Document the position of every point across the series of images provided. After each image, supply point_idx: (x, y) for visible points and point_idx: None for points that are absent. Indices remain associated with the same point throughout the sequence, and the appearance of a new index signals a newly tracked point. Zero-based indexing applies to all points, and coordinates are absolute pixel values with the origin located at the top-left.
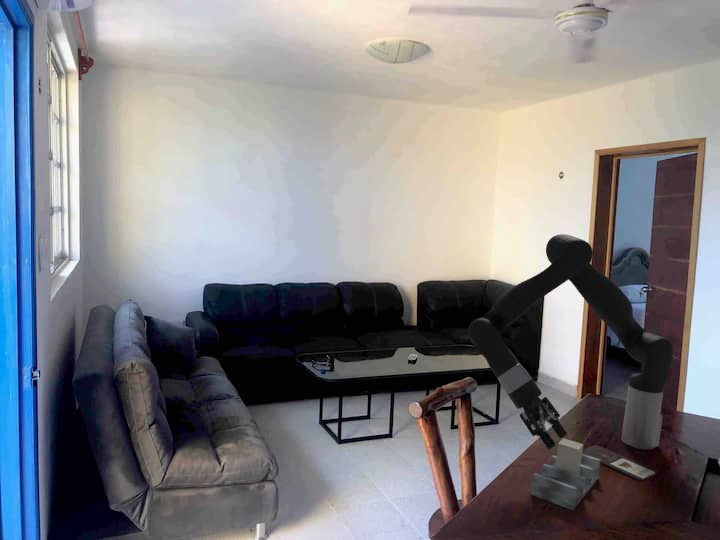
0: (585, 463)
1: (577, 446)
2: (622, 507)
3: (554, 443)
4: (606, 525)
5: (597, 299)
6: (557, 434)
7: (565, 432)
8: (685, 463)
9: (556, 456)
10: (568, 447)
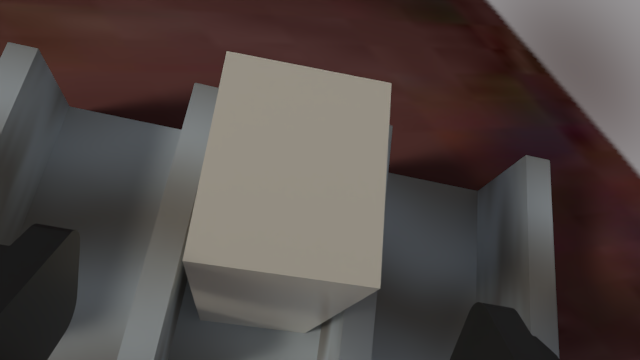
0: (23, 154)
1: (324, 98)
2: (312, 20)
3: (506, 311)
4: (500, 77)
5: None
6: (48, 354)
7: (59, 236)
8: None
9: (127, 348)
10: (383, 179)
